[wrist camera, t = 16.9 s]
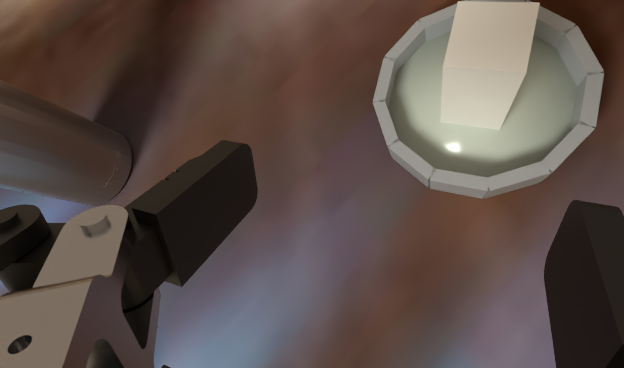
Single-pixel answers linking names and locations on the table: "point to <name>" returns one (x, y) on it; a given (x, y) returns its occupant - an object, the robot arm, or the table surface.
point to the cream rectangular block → (486, 61)
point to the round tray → (484, 141)
